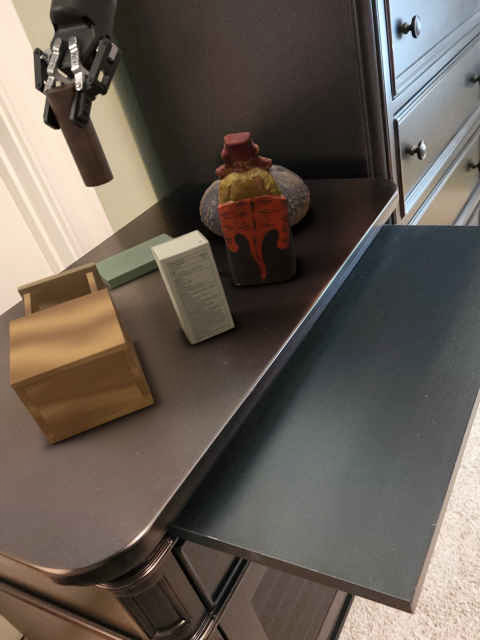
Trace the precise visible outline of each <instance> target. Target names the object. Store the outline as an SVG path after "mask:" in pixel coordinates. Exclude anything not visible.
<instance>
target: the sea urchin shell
mask: <svg viewBox="0 0 480 640" xmlns="http://www.w3.org/2000/svg"><path fill="white" fill-rule="evenodd" d="M269 171H270V172H271V174H272V175H273V177H274V179H275V181H276V183H277V185H278V187H279V188H280V189H281V192H282V195H283V196H285V197H287V199H288V205H289V217H290V227H293V226H295V225H297V224H299V222H300V221H301V220H302V219H303V218H304V217H305V216H306V215H307V212H308V211H309V207H310V202H311V198H310V195H311V194H310V193H311V192H310V191H309V188H308V186H307V185H306V183H305V182H304V181H303V178H301V177H300V176H299V175H298V174H296V173H295V172H294V171H291V170H290V169H287V168H286V167H284V166H282V165H278V164H272V167H271V168H270V169H269ZM219 183H220V179H219V178H218V179H217V180H215V181H214V182H213V183H211V185H210V186H209V187H208V188H207V189H206V190H205V192H204V193H203V196H202V198H201V199H200V202H199V204H200V205H199V215H200V221H201V222H202V223H203V224H204V226H205V227H207V228H208V229H209V230H210V231H211V232H213V233H214V235H215V234H216V235H217V236H219V237H221V238H223V239H224V234H223V231H222V227H221V223H220V219H219V215H218V211H217V207H218V206H219V194H218V190H219Z"/></svg>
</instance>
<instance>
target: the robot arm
mask: <svg viewBox="0 0 480 640" xmlns="http://www.w3.org/2000/svg"><path fill="white" fill-rule="evenodd" d="M50 2H51V3H50V8H49V19H50V22H51V24H52V27H53V30H54V33H53V37H52V39H51V40H50V44H49V48H47V49H44V50H42V49H41V48H39V47H36V48H34V49H33V51H32V54H33V55H32V56H33V73H34V88H35V89H36V90H37V91H38V92H39V93H41V94H42V95H44V96H45V103H44V107H43V113H42V114H43V115H42V121H43V123H44V124H45V125H46V126H47V127H49V128H50V129H52V130H54V131H59V130H61V129H60V126H59V124H58V122H57V119H56V117H55V115H54V112H53V110H52V108H51V105H50V103H49V101H48V98H47V96H46V94H45V91H46V90H48V89H51V88H53V87H57V83H59V84H60V85H65V84H70V83H75V88H76V90H77V91H78V92H74V95H73V101H72V107H71V113H70V121H71V122H72V123H73V124H74V125H76V126H77V127H79V128H86V127H87V123H88V121H89V118H91V112H92V107H93V106H92V105H93V102H94V101H96V100H97V97H98V96H99V95H101V96H102V97H103V96H106V95H107V94H108V91H109V89H110V86H111V84H112V81H113V79H114V76H115V74H116V71H117V69H118V66H119V64H120V61H121V58H122V56H123V53H122V51H121V49H120V48H118V47H117V45H115V43H113V42H112V41H111V40H112V35H113V30H114V24H115V17H116V10H117V4H118V0H51V1H50ZM59 71H60V72H61V73H60V72H59ZM62 73H63V74H64V75H65V76H64V75H63V74H62ZM101 73H102V74H103V75H102V78H101V79H100V78H99V75H100V74H101ZM100 80H101V81H100ZM60 85H59V86H60Z"/></svg>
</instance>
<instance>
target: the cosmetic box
mask: <svg viewBox="0 0 480 640" xmlns="http://www.w3.org/2000/svg"><path fill="white" fill-rule="evenodd" d="M151 250H152V252H153V255H154V257H155V260H156V262H157V265H158V270H159V273H160V276H161V277H162V280H163V282H164V285H165V288H166V290H167V293H168V295H169V299H170V300H171V302H172V306H173V308H174V310H175V313H176V316H177V318H178V321H179V324H180V326H181V328H182V331H183V333H184V335H185V336H186V338H187V339H188V341H189V343H190V344H191V345H195V344H198V343H200V342H203V341H205V340H207V339H209V338H212V337H214V336H217V335H221V334H222V333H225V332H226V331H229V330H231V329H233V328H235V323H234V320H233V319H234V318H233V317H232V313H231V310H230V307H229V304H228V300H227V297H226V294H225V290H224V287H223V284H222V281H221V277H220V274H219V271H218V268H217V264H216V261H215V258H214V254H213V252H212V248H211V244H210V242H209V240H208V239H207V238H206V237H205V236H204V235H203V234H202V233H201V232H200V231H199V230H198V229H197V230H193V231H191V232H188V233H185V234H181V235H180V236H178V237H173V239H172V240H169V241H166V242H164V243H161V244H158V245H156V246H153V247H151Z"/></svg>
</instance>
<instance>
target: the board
mask: <svg viewBox="0 0 480 640" xmlns="http://www.w3.org/2000/svg"><path fill="white" fill-rule="evenodd" d="M172 239H174V237H172V236H170V235H168V234H167V233H161V234H160V235H157V236H155V237H153V238H151V239H148V240H146V241H144V242H141V243H139V244H137V245H135V246H132V247H129V248H127V249H125V250H122V251H121V252H118V253H116V254H114V255H112V256H110V257H107V258H105V259H103V260H100V261H98V262H95V264H96V266H97V269H98V271H99V273H100V275H101V277H102V279H103V282H104V284H105V286H106V287H108V288H109V289H110V290H113V289H115V288H117V287H120V286H122V285H124V284H125V283H128V282H130V281H132V280H134V279H136V278H138V277H141V276H143V275H145V274H147V273H149V272H152V271H153V270H155V269H159V267H158V265H157V262H156V260H155V257H154V255H153V252H152V250H151V247H153V246H156V245H158V244H161V243H164V242H166V241H169V240H172Z"/></svg>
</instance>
